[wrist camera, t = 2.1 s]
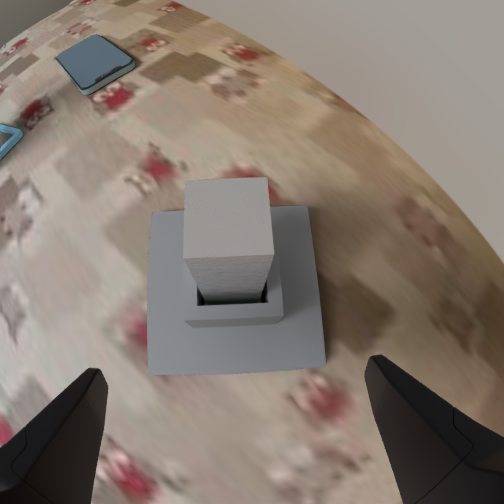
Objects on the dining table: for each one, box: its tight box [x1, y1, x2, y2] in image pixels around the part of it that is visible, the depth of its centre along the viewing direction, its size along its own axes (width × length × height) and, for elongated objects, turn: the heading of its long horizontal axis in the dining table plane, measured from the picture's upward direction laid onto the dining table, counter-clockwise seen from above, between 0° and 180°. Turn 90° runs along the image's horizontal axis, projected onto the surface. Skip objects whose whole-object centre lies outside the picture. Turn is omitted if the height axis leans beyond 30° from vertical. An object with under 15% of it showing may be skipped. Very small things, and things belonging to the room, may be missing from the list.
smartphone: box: [56, 34, 135, 95], centre depth 32 cm, size 8×2×15 cm
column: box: [183, 177, 274, 306], centre depth 17 cm, size 4×3×10 cm
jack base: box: [147, 206, 326, 375], centre depth 20 cm, size 12×12×6 cm
